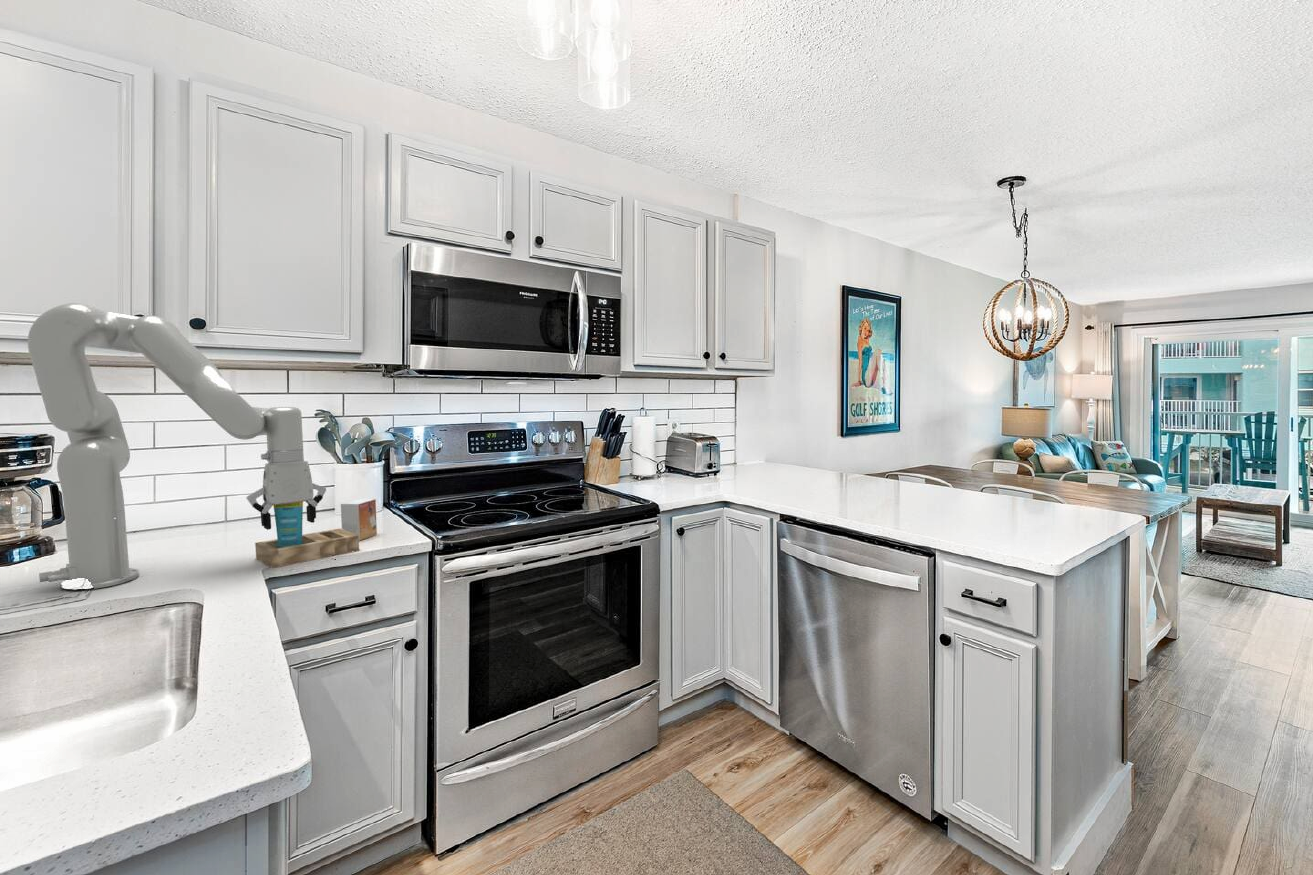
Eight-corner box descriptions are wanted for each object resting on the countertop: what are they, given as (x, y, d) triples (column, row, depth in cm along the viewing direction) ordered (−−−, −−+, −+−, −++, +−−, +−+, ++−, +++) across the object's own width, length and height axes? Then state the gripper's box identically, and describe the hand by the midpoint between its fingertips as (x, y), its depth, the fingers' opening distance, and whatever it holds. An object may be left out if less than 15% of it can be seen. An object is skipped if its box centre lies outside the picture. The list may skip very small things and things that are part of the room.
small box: (359, 541, 165) (358, 504, 164) (341, 540, 166) (339, 503, 165) (377, 534, 173) (376, 498, 172) (360, 533, 174) (358, 498, 173)
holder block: (272, 567, 141) (271, 551, 141) (256, 558, 149) (255, 542, 149) (359, 550, 156) (358, 535, 156) (340, 542, 164) (340, 528, 164)
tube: (273, 562, 146) (268, 484, 144) (273, 557, 150) (269, 481, 148) (308, 557, 150) (304, 481, 148) (308, 553, 154) (304, 479, 152)
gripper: (249, 461, 138) (254, 534, 140) (329, 455, 151) (332, 521, 153) (240, 459, 143) (244, 529, 145) (318, 453, 156) (321, 517, 158)
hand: (289, 525), depth 149 cm, fingers open, 9 cm apart
